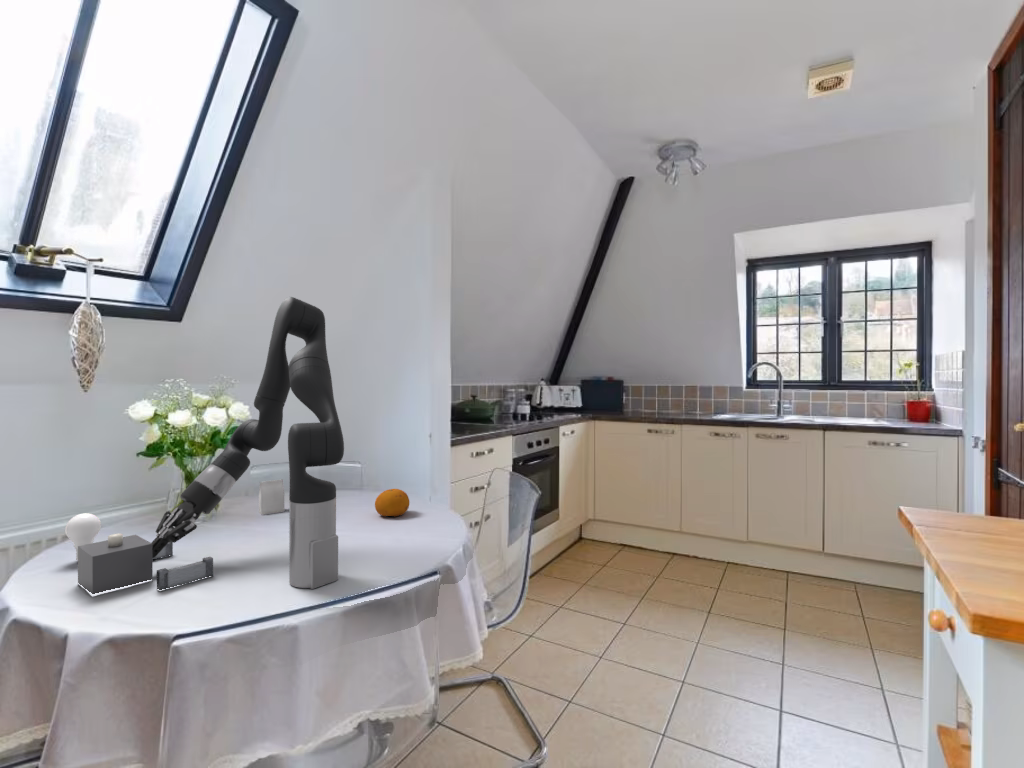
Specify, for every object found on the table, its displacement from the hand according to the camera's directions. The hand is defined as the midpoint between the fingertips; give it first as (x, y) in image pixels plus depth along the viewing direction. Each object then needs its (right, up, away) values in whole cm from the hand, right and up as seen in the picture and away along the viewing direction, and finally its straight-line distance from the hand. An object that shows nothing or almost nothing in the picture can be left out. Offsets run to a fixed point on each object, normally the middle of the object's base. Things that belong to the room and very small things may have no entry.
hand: (148, 555), depth 111 cm
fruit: (+41, -4, +49) cm, 64 cm away
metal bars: (+2, -4, +2) cm, 5 cm away
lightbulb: (-21, -4, +8) cm, 23 cm away
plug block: (-4, -4, -4) cm, 7 cm away
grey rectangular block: (+2, -4, +52) cm, 53 cm away
